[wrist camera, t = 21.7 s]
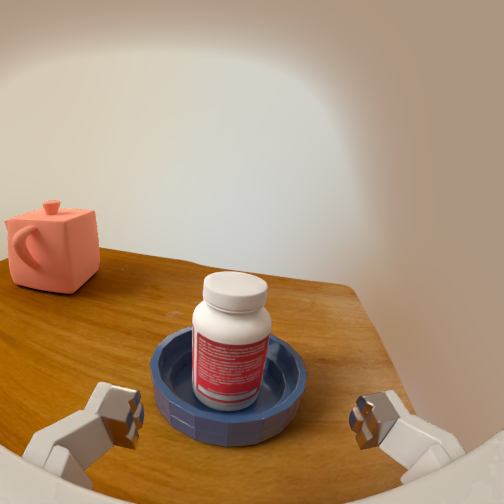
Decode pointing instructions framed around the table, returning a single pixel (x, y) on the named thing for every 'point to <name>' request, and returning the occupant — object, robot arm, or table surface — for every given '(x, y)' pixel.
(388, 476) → the table surface
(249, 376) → the pill bottle
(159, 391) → the bowl
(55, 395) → the table surface
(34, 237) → the teapot
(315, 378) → the table surface
